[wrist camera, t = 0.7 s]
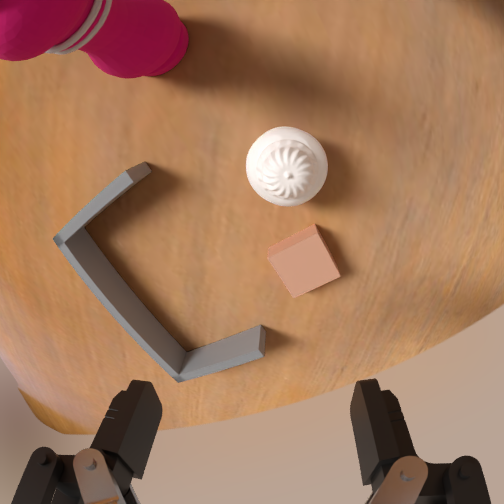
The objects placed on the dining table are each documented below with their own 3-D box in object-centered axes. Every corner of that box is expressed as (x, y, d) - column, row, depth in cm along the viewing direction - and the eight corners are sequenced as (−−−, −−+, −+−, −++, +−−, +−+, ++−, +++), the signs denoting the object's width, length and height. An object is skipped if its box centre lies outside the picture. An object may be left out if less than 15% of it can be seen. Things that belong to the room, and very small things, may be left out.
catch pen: (145, 161, 25) (125, 170, 22) (265, 331, 33) (264, 356, 30) (72, 223, 29) (52, 238, 26) (185, 360, 37) (178, 382, 33)
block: (314, 222, 27) (317, 233, 25) (336, 263, 29) (340, 276, 27) (268, 246, 29) (267, 258, 27) (292, 284, 30) (293, 298, 28)
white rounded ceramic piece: (242, 132, 24) (230, 140, 18) (313, 118, 23) (327, 121, 16) (259, 199, 26) (252, 229, 20) (326, 187, 25) (341, 213, 19)
